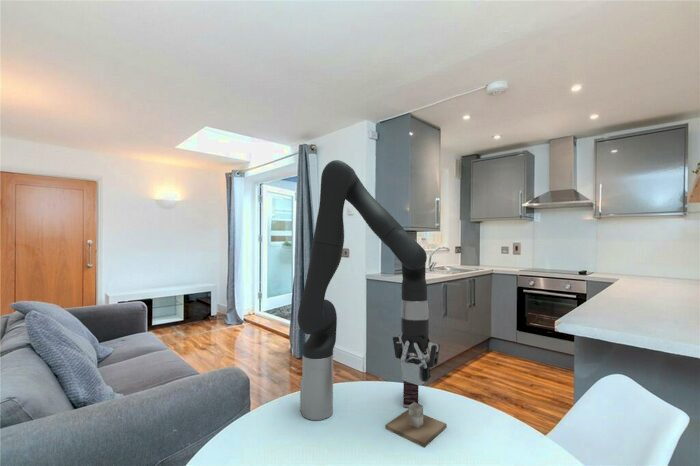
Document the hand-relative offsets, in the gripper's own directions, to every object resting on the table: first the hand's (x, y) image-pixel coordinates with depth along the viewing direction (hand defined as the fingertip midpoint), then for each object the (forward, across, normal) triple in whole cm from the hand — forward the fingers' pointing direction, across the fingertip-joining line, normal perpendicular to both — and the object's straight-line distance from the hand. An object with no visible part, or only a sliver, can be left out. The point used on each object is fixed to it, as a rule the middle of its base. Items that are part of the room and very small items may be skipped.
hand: (416, 377), depth 87 cm
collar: (0, 0, 0) cm, 0 cm away
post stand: (+14, 0, 0) cm, 14 cm away
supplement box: (+14, -9, +12) cm, 21 cm away
